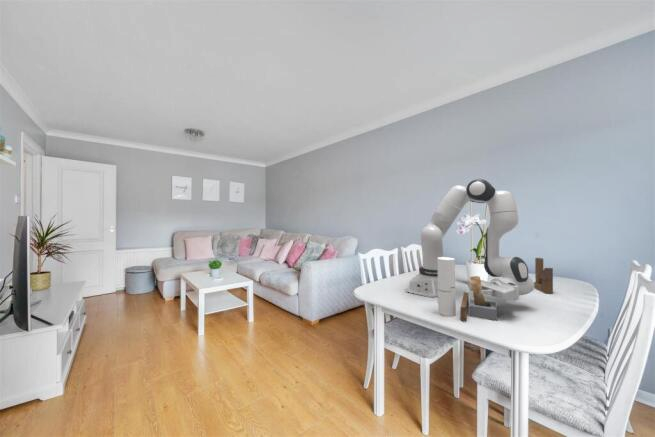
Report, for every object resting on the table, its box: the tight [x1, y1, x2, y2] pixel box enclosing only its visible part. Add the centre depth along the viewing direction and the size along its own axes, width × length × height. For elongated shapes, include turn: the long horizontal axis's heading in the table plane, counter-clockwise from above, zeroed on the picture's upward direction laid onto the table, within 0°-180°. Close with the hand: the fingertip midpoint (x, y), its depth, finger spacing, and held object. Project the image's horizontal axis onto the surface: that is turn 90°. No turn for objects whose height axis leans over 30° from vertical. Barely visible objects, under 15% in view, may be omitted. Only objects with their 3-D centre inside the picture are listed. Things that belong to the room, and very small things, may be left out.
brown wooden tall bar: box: [469, 275, 486, 307], centre depth 111 cm, size 4×4×14 cm
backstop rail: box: [460, 291, 470, 322], centre depth 113 cm, size 2×22×6 cm, turn 148°
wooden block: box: [533, 257, 554, 295], centre depth 140 cm, size 4×11×18 cm, turn 167°
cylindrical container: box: [437, 256, 457, 317], centre depth 112 cm, size 7×7×25 cm
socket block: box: [468, 298, 498, 322], centre depth 110 cm, size 10×10×5 cm
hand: (475, 290), depth 111 cm, fingers closed on brown wooden tall bar, 4 cm apart
